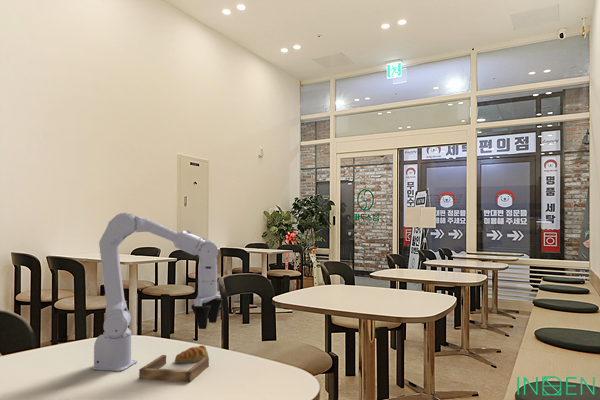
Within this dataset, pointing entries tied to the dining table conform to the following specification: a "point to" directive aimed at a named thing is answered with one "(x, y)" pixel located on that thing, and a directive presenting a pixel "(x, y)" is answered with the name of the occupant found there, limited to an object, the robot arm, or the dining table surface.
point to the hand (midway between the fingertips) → (207, 325)
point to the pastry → (192, 355)
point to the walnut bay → (171, 371)
